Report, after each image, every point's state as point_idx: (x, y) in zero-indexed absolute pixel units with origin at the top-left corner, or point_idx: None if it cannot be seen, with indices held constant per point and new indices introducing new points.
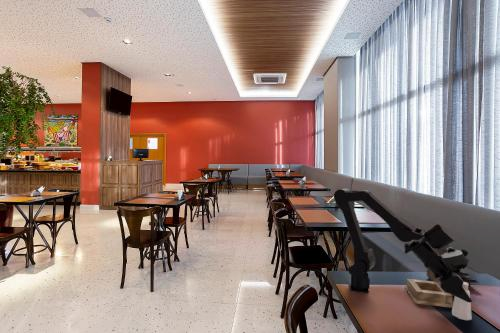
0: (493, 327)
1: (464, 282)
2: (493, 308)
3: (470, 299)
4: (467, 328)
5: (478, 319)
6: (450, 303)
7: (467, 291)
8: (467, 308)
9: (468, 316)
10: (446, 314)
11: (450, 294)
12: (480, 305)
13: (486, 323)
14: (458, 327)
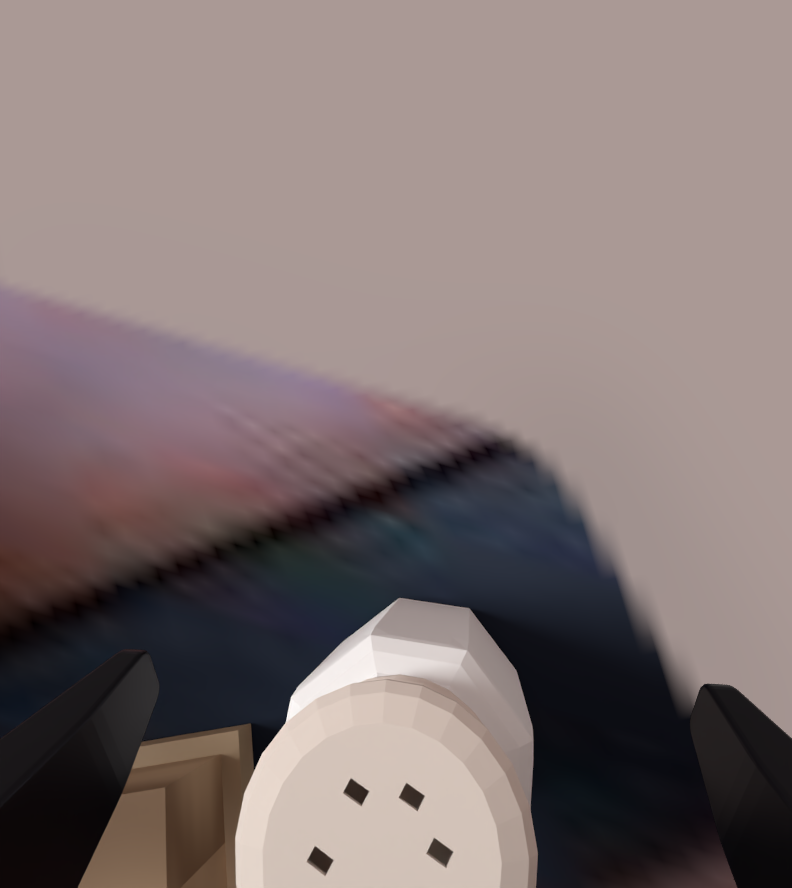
0: (532, 450)
1: (343, 800)
2: (135, 336)
3: (771, 725)
4: None
5: (425, 535)
6: (217, 774)
7: (451, 692)
8: (508, 672)
9: (499, 650)
10: None
11: (128, 806)
12: (103, 425)
13: (478, 487)
14: None
